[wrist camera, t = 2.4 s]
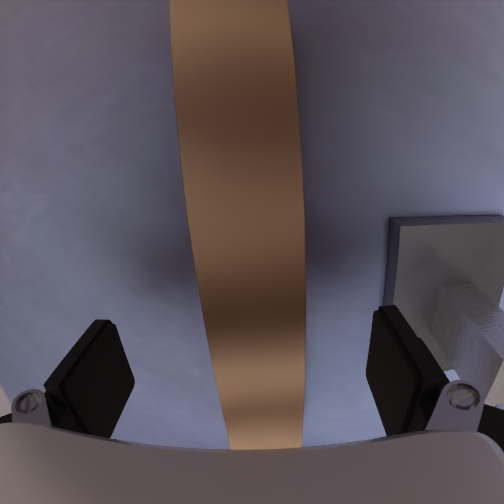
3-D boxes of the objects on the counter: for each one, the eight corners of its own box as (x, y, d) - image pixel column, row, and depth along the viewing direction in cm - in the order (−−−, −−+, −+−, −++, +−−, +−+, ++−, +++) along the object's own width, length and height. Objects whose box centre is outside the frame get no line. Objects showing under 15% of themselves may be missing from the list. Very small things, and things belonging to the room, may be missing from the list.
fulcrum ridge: (389, 218, 15) (473, 289, 8) (501, 214, 15) (592, 266, 7) (373, 368, 19) (407, 467, 11) (471, 349, 18) (522, 425, 11)
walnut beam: (198, 34, 13) (169, -3, 8) (279, 26, 12) (285, -17, 8) (241, 413, 21) (235, 468, 17) (296, 411, 21) (300, 467, 16)
